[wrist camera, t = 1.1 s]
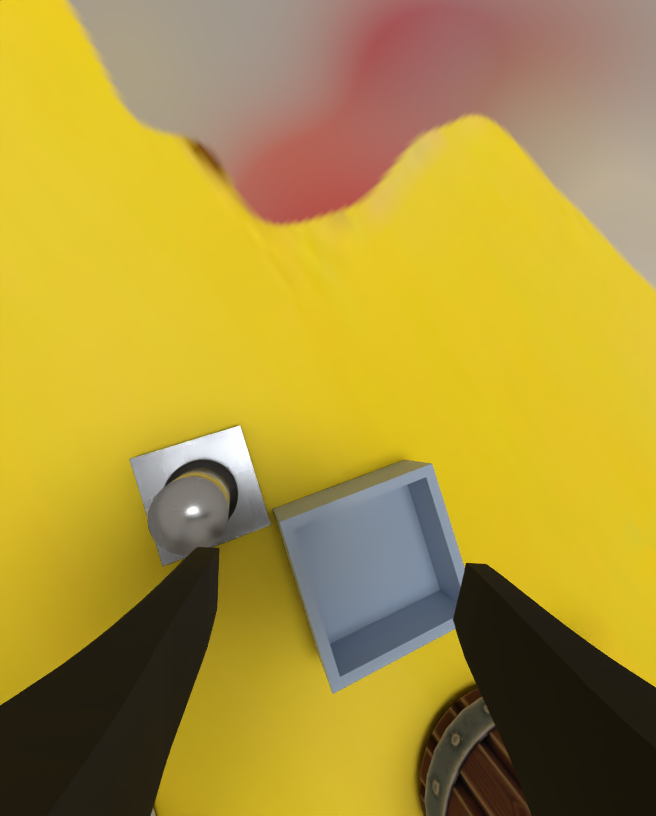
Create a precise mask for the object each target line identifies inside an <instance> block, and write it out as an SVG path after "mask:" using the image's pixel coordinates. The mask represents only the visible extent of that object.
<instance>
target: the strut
mask: <svg viewBox="0 0 656 816" xmlns="http://www.w3.org/2000/svg"><path fill="white" fill-rule="evenodd" d="M237 501H238V485H237V481H236V479H235V477H234V475H233V473H232V472H231V471H230V469H229V468H228V467H226V466H225V465H224V464H222V463H220V462H218V461H215V460H212V459H197V460H193V461H190V462H188V463H186V464H184V465H182V466H180V467H179V468H178V469H176V470H175V471H174V472H173V473H172V474H171V475H170V476H169V478H168V479H167V481H166V483H165V485H164V488H163V489H161V490H160V491H159V492H158V494H157V495H156V496H155V498H154V499H153V501H152V503H151V505H150V508H149V512H148V527H149V531H150V533H151V536H152V537H153V539H154V540H155V542H156V543H157V544H158V545H159V546H160V547H162V548H163V549H164V550H166V551H168V552H171V553H173V554H178V555H189V554H190V553H191V552H192V551H193V550H194V549H195V548H196V547H211V546H212V545H213V544H214V543H215V542H216V541H217V540H218V539H219V538H220V537H221V535H222V534H223V532H224V530H225V528H226V525H227V521H228V520H229V518H230V517H231V516H232V514H233V512H234V510H235V508H236V505H237Z"/></svg>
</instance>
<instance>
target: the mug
mask: <svg viewBox="0 0 656 816" xmlns="http://www.w3.org/2000/svg"><path fill="white" fill-rule="evenodd" d="M420 780H421V781H422V782H421V789H420V797H421V804H422V809H423V812H424V815H425V816H531V813H530V810H529V808H528V805H527V802H526V799H525V796H524V794H523V791H522V788H521V785H520V783H519V780H518V777H517V775H516V772H515V770H514V767H513V765H512V762H511V760H510V758H509V755H508V753H507V750H506V748H505V746H504V744H503V742H502V739H501V737H500V735H499V733H498V731H497V728H496V726H495V724H494V722H493V720H492V717H491V715H490V713H489V711H488V708H487V706H486V704H485V702H484V700H483V697H482V695H481V693H480V691H479V689H475V690H473V691H470V692H468V693H467V694H466V695H464V696H463V697H461V698H460V699H458V700H457V701H455V702H454V703H453V704H452V705H451V706H450V707H449V709H448V710H447V711H446V712H445V713H444V714H443V715H442V716H441V718H440V720H439V721H438V723H437V725H436V727H435V729H434V730H433V732H432V734H431V736H430V738H429V741H428V743H427V746H426V750H425V753H424V757H423V760H422V766H421V773H420Z"/></svg>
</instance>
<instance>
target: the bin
mask: <svg viewBox="0 0 656 816" xmlns="http://www.w3.org/2000/svg"><path fill="white" fill-rule="evenodd" d="M273 511H274V514H275V518H276V521H277V524H278V527H279V530H280V534H281V537H282V540H283V543H284V546H285V550H286V553H287V556H288V559H289V563H290V566H291V569H292V572H293V575H294V579H295V582H296V585H297V588H298V591H299V595H300V598H301V601H302V604H303V607H304V611H305V614H306V617H307V620H308V624H309V627H310V630H311V633H312V636H313V640H314V643H315V646H316V649H317V652H318V655H319V658H320V661H321V663H322V666H323V669H324V671H325V674H326V677H327V680H328V682H329V685H330V688H331V690H332V693H335V692H337V691H339V690H341V689H343V688H345V687H347V686H348V685H350V684H352V683H354V682H356V681H358V680H360V679H362V678H363V677H365V676H367V675H369V674H371V673H373V672H375V671H377V670H379V669H380V668H382V667H384V666H386V665H388V664H390V663H392V662H394V661H396V660H397V659H399V658H401V657H403V656H405V655H407V654H409V653H411V652H412V651H414V650H416V649H418V648H420V647H422V646H424V645H426V644H428V643H429V642H431V641H433V640H435V639H437V638H439V637H441V636H443V635H444V634H446V633H448V632H450V631H452V630H454V629H456V628H455V625H454V622H453V617H454V613H455V609H456V604H457V600H458V596H459V592H460V587H461V583H462V579H463V575H464V570H465V568H464V565H463V561H462V558H461V555H460V552H459V549H458V545H457V542H456V539H455V536H454V533H453V529H452V526H451V523H450V520H449V517H448V513H447V510H446V507H445V504H444V501H443V497H442V494H441V491H440V488H439V485H438V481H437V478H436V475H435V472H434V469H433V465H432V464H431V463H424V462H416V461H409V460H403V461H401V462H398V463H395V464H393V465H390V466H387V467H384V468H382V469H379V470H376V471H374V472H371V473H368V474H366V475H363V476H360V477H358V478H355V479H352V480H350V481H347V482H344V483H342V484H339V485H336V486H333V487H331V488H328V489H325V490H323V491H320V492H317V493H315V494H312V495H309V496H307V497H304V498H301V499H299V500H296V501H293V502H291V503H288V504H285V505H282V506H280V507H277V508H274V509H273Z"/></svg>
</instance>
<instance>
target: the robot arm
mask: <svg viewBox="0 0 656 816" xmlns="http://www.w3.org/2000/svg"><path fill="white" fill-rule="evenodd" d="M218 570H219V548H209V547H196V548H195V549H194V550H193V551H192V552H191V553H190V554H189V555H188V556H187V557H186V558H185V559H184V560H183V561H182V562H181V563H180V564H179V565H178V566H177V567H176V568H175V569H174V570H173V571H172V572H171V573H170V574H169V575H168V576H167V577H166V578H165V579H164V580H163V581H162V582H161V583H160V584H159V585H158V586H156V587H155V588H154V589H153V590H152V591H151V592H150V593H149V594H148V595H147V596H146V597H145V598H144V599H143V600H141V601H140V602H139V603H138V604H137V605H136V606H135V607H134V608H132V609H131V610H130V611H129V612H128V613H127V614H125V615H124V616H123V617H122V618H121V619H120V620H118V621H117V622H116V623H115V624H114V625H113V626H111V627H110V628H109V629H108V630H107V631H105V632H104V633H103V634H102V635H100V636H99V637H98V638H97V639H95V640H94V641H93V642H91V643H90V644H89V645H88V646H86V647H85V648H84V649H82V650H81V651H80V652H78V653H77V654H76V655H74V656H73V657H72V658H70V659H69V660H68V661H66V662H65V663H63V664H62V665H61V666H59V667H58V668H56V669H55V670H53V671H52V672H50V673H49V674H47V675H46V676H44V677H43V678H41V679H40V680H38V681H37V682H35V683H34V684H32V685H31V686H29V687H28V688H26V689H25V690H23V691H22V692H20V693H19V694H17V695H16V696H14V697H13V698H11V699H10V700H8V701H7V702H5V703H3V704H2V705H0V816H156V814H155V811H154V807H153V806H154V803H155V799H156V796H157V792H158V789H159V785H160V782H161V778H162V774H163V771H164V768H165V765H166V762H167V759H168V756H169V753H170V749H171V746H172V743H173V741H174V738H175V735H176V733H177V730H178V727H179V724H180V722H181V719H182V716H183V713H184V711H185V708H186V705H187V702H188V700H189V697H190V694H191V691H192V689H193V686H194V683H195V680H196V678H197V675H198V672H199V669H200V666H201V664H202V661H203V658H204V655H205V652H206V650H207V647H208V643H209V639H210V635H211V631H212V627H213V623H214V619H215V615H216V611H217V598H218ZM453 622H454V625H455V628H456V632H457V635H458V638H459V641H460V644H461V647H462V650H463V653H464V656H465V659H466V661H467V664H468V666H469V668H470V671H471V673H472V675H473V677H474V680H475V682H476V684H477V686H478V689H479V691H480V693H481V695H482V697H483V700H484V702H485V704H486V706H487V708H488V711H489V713H490V715H491V717H492V720H493V722H494V724H495V726H496V728H497V731H498V733H499V735H500V737H501V739H502V742H503V744H504V746H505V748H506V750H507V753H508V755H509V758H510V760H511V762H512V765H513V767H514V770H515V772H516V775H517V777H518V780H519V783H520V785H521V788H522V791H523V794H524V796H525V799H526V802H527V805H528V808H529V810H530V813H531V816H656V687H654V686H653V685H651V684H649V683H648V682H646V681H645V680H643V679H642V678H640V677H639V676H637V675H636V674H634V673H632V672H631V671H629V670H628V669H626V668H625V667H623V666H622V665H620V664H619V663H617V662H616V661H614V660H613V659H611V658H610V657H608V656H607V655H605V654H604V653H603V652H601V651H600V650H598V649H597V648H596V647H594V646H593V645H591V644H590V643H589V642H587V641H586V640H585V639H583V638H582V637H580V636H579V635H578V634H576V633H575V632H574V631H572V630H571V629H570V628H568V627H567V626H566V625H564V624H563V623H562V622H560V621H559V620H558V619H556V618H555V617H554V616H552V615H551V614H550V613H549V612H547V611H546V610H545V609H543V608H542V607H541V606H540V605H538V604H537V603H536V602H535V601H533V600H532V599H531V598H530V597H528V596H527V595H526V594H525V593H523V592H522V591H521V590H519V589H518V588H517V587H516V586H514V585H513V584H512V583H511V582H509V581H508V580H507V579H506V578H504V577H503V576H502V575H500V574H499V573H498V572H496V571H495V570H494V569H492V568H491V567H489V566H488V565H487V564H475V563H466V566H465V570H464V575H463V579H462V583H461V587H460V592H459V596H458V600H457V604H456V609H455V613H454V617H453Z"/></svg>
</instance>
